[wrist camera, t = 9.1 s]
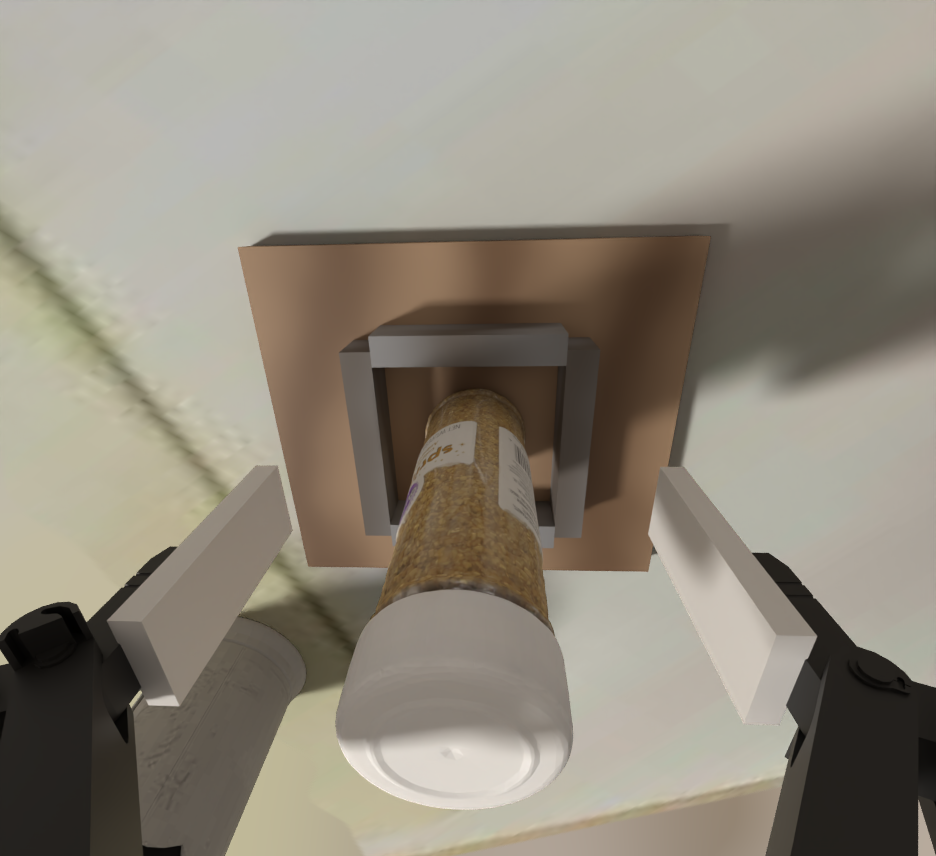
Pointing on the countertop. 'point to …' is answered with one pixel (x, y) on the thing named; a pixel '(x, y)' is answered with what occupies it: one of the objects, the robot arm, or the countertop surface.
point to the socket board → (478, 377)
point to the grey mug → (213, 742)
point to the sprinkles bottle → (462, 629)
